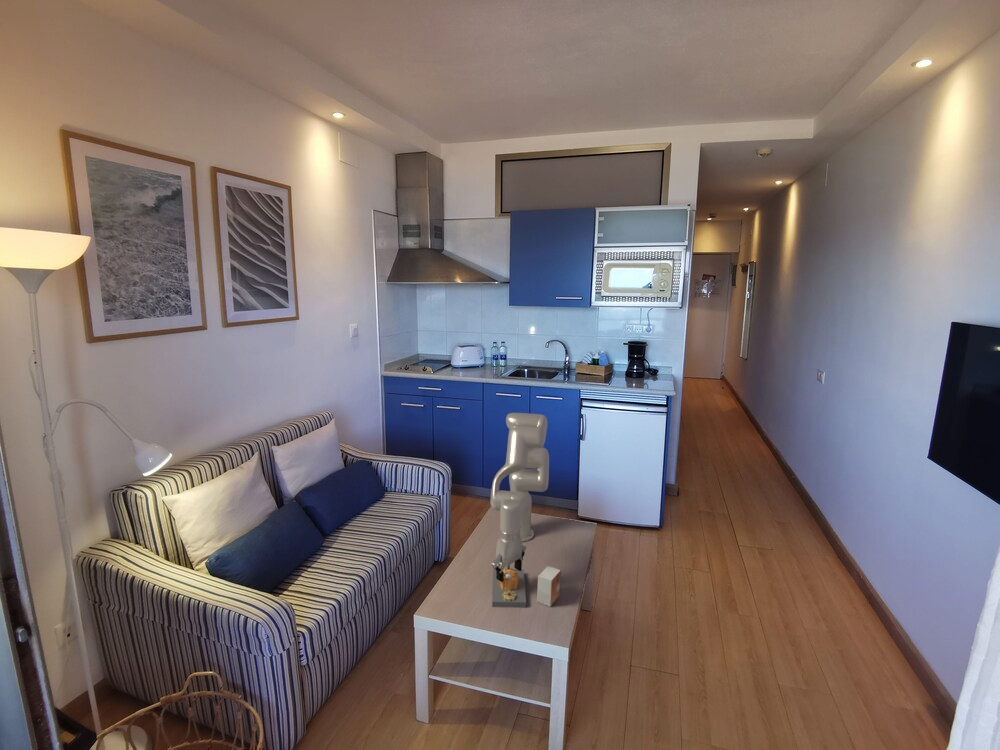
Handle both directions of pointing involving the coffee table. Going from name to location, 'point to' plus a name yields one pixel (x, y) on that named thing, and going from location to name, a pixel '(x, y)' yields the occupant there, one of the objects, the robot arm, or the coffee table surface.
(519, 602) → the board
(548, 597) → the small box
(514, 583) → the gear
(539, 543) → the coffee table surface
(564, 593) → the coffee table surface
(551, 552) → the coffee table surface
